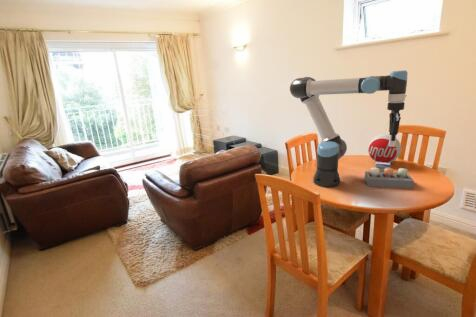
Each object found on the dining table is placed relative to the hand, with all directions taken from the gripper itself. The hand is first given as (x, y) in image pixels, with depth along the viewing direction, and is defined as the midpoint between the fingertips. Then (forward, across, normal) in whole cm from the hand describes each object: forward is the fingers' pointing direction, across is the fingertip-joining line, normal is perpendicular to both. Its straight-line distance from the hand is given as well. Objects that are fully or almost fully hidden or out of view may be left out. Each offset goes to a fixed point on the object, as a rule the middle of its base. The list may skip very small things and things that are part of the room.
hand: (391, 146), depth 143 cm
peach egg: (+19, +1, 0) cm, 19 cm away
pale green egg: (+19, +1, -7) cm, 20 cm away
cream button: (+19, +1, +7) cm, 20 cm away
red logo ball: (+22, +38, -4) cm, 44 cm away
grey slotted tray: (+22, +1, 0) cm, 22 cm away
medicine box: (+22, +11, +2) cm, 25 cm away
